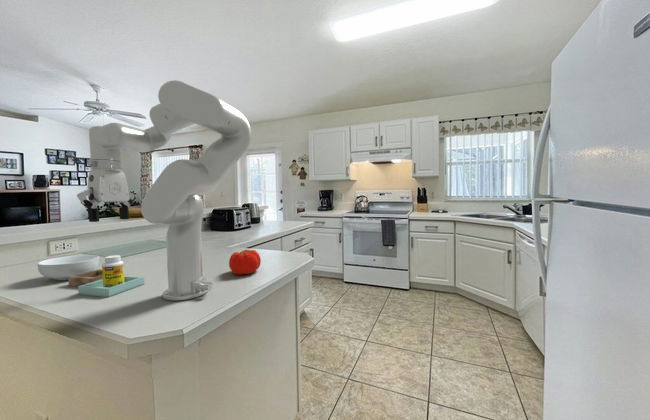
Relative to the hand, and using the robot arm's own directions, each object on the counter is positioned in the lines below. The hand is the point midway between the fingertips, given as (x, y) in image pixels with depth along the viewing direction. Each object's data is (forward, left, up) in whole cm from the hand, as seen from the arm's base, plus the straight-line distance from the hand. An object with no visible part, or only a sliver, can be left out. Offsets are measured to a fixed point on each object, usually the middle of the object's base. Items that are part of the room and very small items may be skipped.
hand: (110, 220), depth 86 cm
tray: (0, 0, -23) cm, 23 cm away
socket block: (+14, -5, -23) cm, 27 cm away
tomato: (-33, -25, -23) cm, 47 cm away
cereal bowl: (+30, -8, -23) cm, 39 cm away
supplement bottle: (0, 0, -22) cm, 22 cm away
